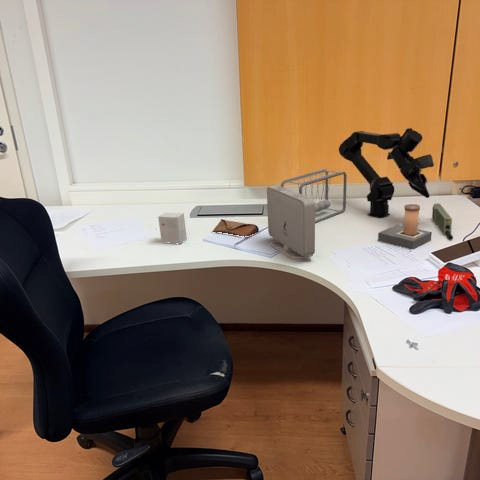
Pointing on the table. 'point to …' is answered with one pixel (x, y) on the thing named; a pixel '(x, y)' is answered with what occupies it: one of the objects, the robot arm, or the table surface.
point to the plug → (411, 219)
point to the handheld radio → (442, 220)
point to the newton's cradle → (325, 203)
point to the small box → (172, 227)
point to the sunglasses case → (236, 228)
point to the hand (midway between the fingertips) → (426, 193)
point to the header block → (404, 237)
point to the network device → (291, 221)
